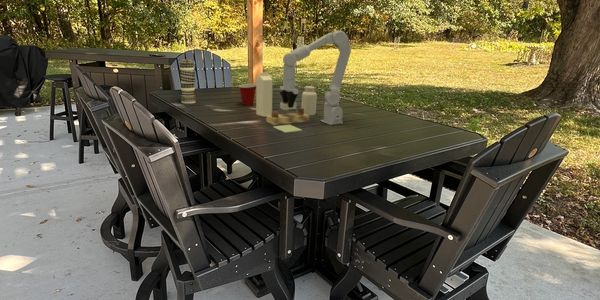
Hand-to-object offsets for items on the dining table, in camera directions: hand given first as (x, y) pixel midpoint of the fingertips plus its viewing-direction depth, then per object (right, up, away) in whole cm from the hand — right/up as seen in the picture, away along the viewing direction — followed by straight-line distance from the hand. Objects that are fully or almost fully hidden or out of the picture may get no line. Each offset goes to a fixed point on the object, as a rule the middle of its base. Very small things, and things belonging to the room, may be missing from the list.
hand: (288, 106), depth 191 cm
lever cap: (0, -1, 0) cm, 1 cm away
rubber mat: (0, -12, -12) cm, 17 cm away
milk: (-13, -3, +15) cm, 20 cm away
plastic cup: (-26, +5, +40) cm, 48 cm away
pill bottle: (+10, -2, +20) cm, 23 cm away
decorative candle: (-61, +7, +42) cm, 74 cm away
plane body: (0, -7, +2) cm, 8 cm away
